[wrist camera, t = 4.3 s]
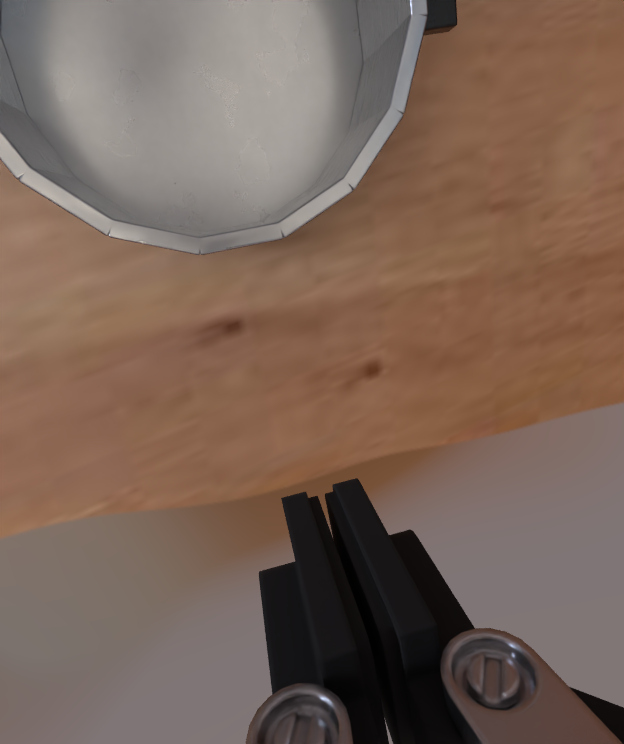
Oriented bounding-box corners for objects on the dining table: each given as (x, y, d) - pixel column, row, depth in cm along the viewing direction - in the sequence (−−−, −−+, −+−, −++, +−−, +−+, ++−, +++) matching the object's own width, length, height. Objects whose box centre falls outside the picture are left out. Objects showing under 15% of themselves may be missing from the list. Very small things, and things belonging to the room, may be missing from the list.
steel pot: (-122, -167, 16) (-296, -363, 11) (373, -208, 19) (441, -391, 13) (40, 277, 22) (-22, 299, 16) (413, 204, 24) (475, 201, 18)
